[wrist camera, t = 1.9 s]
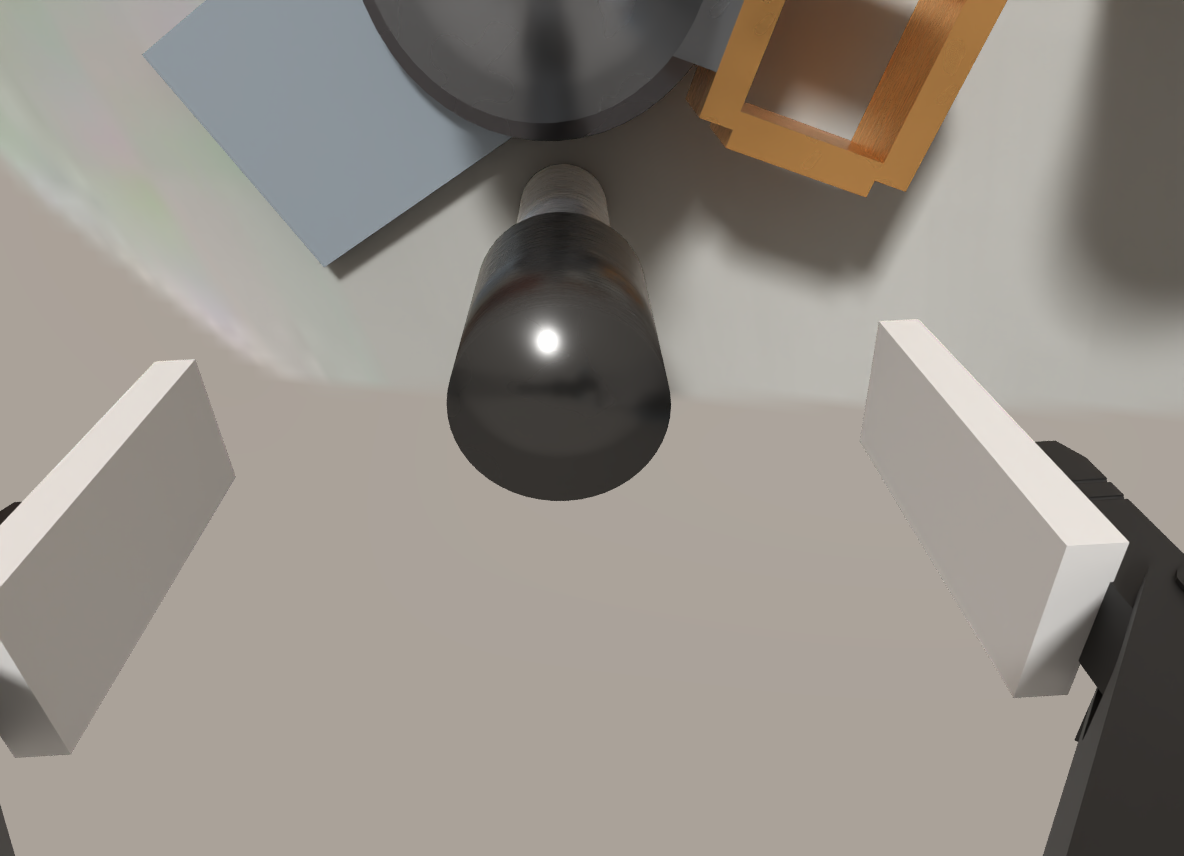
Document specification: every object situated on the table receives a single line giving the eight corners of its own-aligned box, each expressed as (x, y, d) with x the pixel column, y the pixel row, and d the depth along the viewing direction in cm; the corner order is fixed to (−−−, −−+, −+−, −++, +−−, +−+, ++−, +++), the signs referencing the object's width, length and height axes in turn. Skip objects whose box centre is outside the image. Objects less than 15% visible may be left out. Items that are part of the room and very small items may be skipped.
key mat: (513, 132, 26) (511, 137, 26) (330, 259, 28) (324, 267, 28) (350, -116, 23) (343, -117, 22) (153, 51, 25) (142, 54, 24)
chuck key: (650, 226, 28) (710, 437, 16) (547, 290, 29) (531, 532, 17) (582, 115, 26) (593, 262, 14) (474, 189, 27) (400, 382, 15)
